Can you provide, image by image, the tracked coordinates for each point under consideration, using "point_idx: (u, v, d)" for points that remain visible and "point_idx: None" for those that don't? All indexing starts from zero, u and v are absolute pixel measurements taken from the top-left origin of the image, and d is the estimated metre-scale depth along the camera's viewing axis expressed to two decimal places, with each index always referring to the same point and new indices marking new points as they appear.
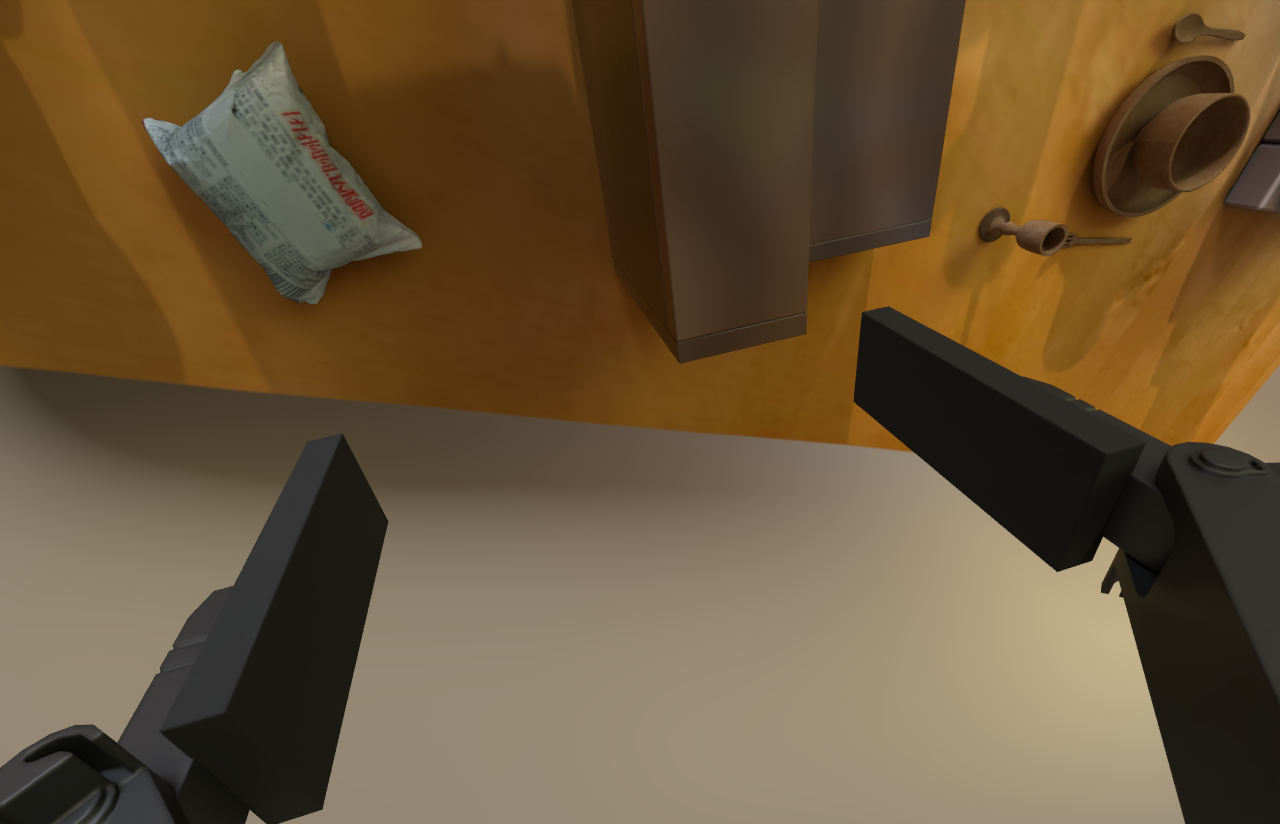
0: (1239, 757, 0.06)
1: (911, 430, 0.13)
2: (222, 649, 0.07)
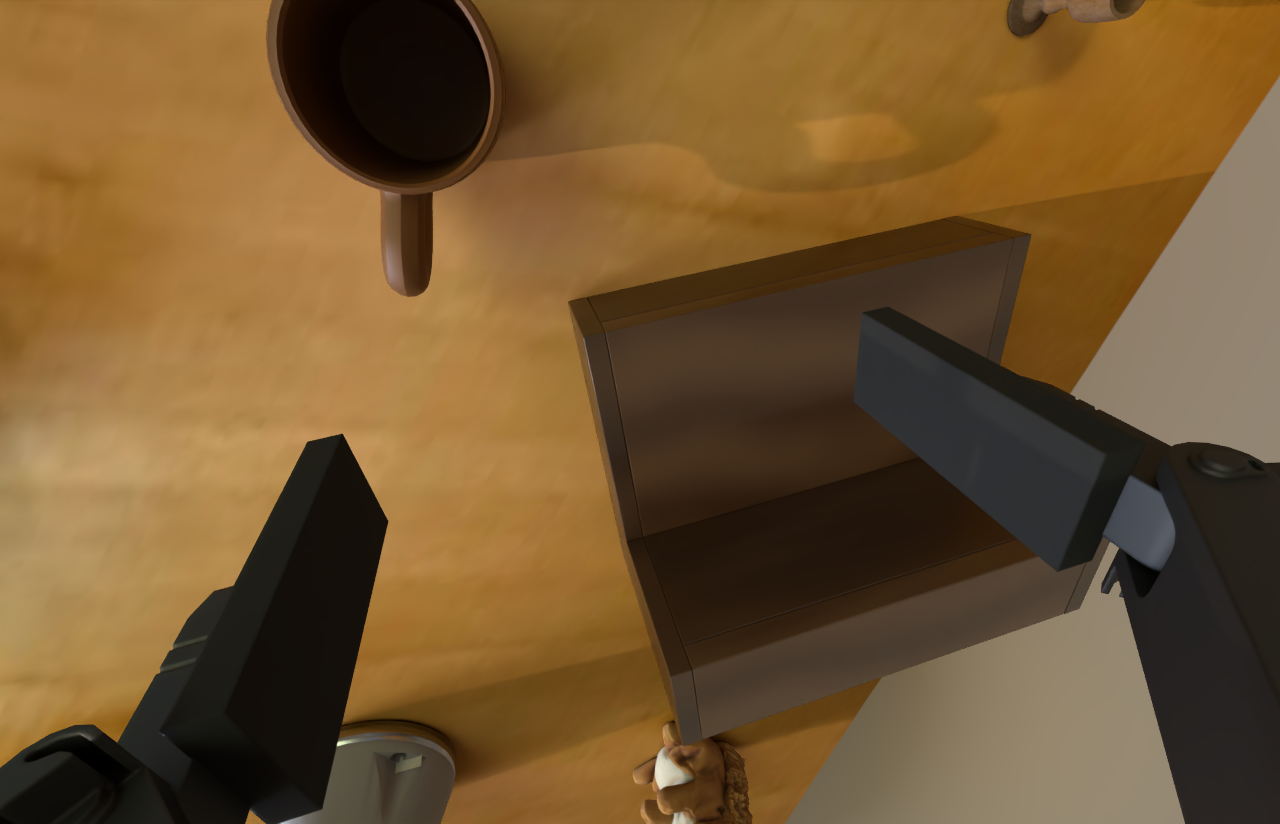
0: (1239, 756, 0.06)
1: (911, 430, 0.13)
2: (222, 649, 0.07)
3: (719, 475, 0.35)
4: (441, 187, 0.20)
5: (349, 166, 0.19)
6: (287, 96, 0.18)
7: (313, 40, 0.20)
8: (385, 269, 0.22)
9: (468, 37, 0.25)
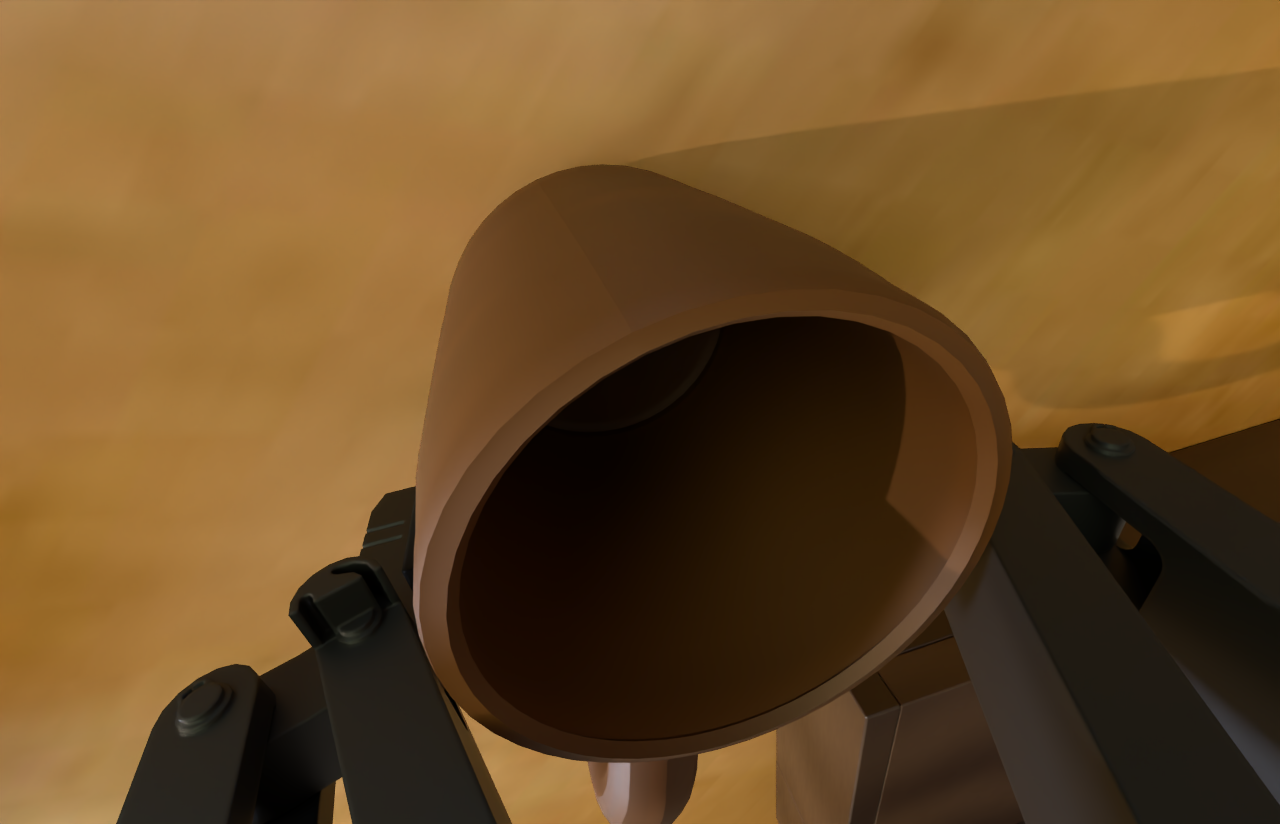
0: (1044, 732, 0.06)
1: None
2: None
3: (983, 810, 0.23)
4: (784, 724, 0.08)
5: (591, 744, 0.07)
6: (463, 681, 0.06)
7: None
8: (610, 818, 0.10)
9: None
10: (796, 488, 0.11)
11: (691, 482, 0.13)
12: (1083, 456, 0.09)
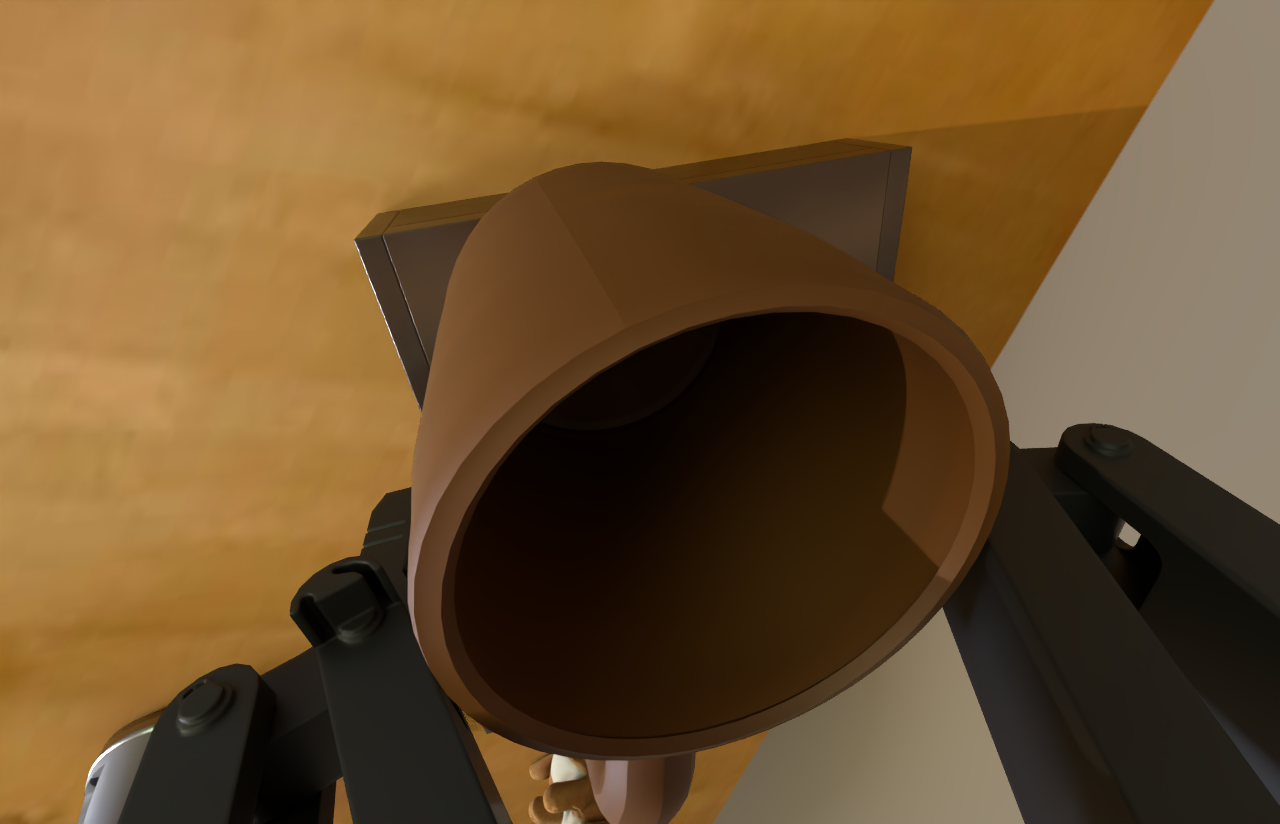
0: (1043, 732, 0.06)
1: None
2: None
3: None
4: (781, 723, 0.08)
5: (587, 742, 0.07)
6: (458, 678, 0.06)
7: None
8: (608, 816, 0.10)
9: None
10: (795, 487, 0.11)
11: (690, 480, 0.13)
12: (1082, 456, 0.09)
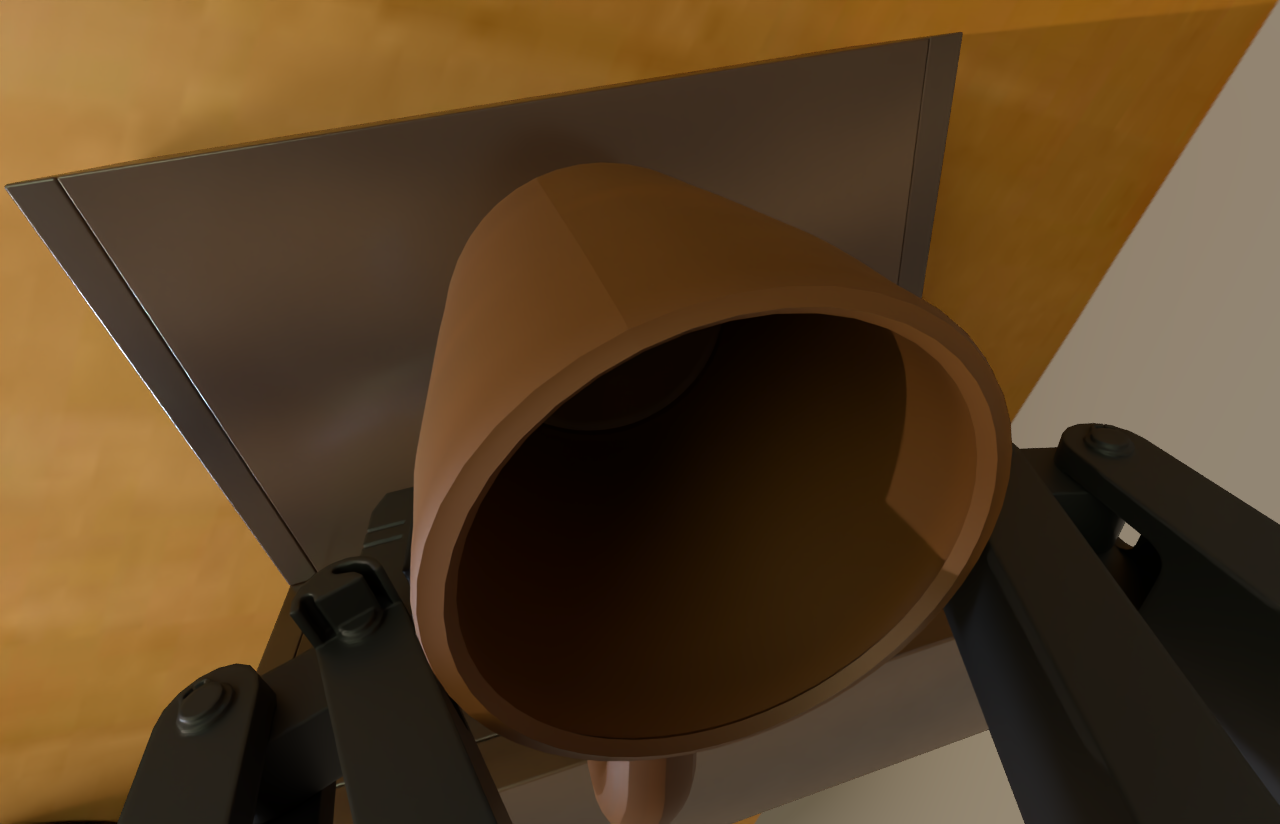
0: (1043, 733, 0.06)
1: None
2: None
3: None
4: (783, 723, 0.08)
5: (589, 742, 0.07)
6: (461, 679, 0.06)
7: None
8: (610, 816, 0.10)
9: None
10: (796, 488, 0.11)
11: (691, 481, 0.13)
12: (1082, 456, 0.09)
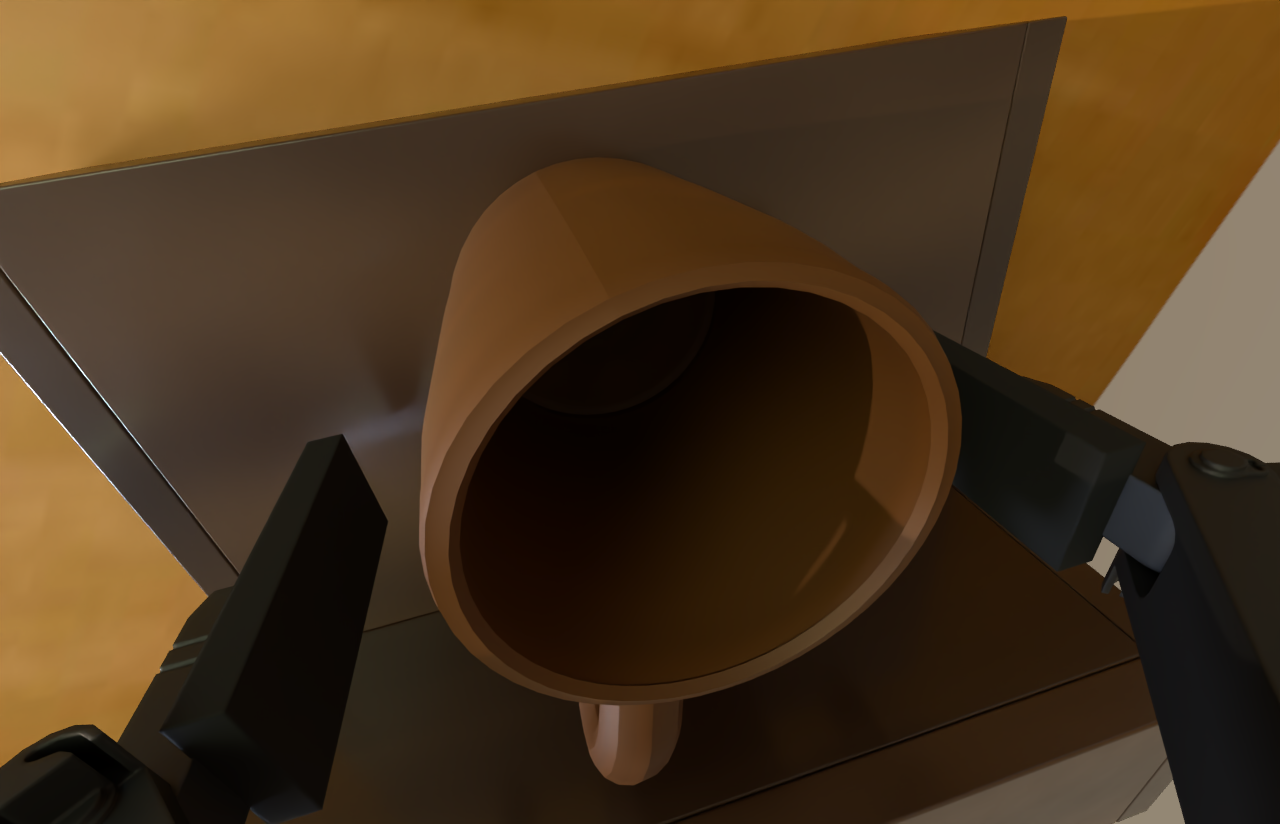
0: (1240, 756, 0.06)
1: None
2: (222, 649, 0.07)
3: None
4: (760, 674, 0.09)
5: (580, 686, 0.08)
6: (463, 617, 0.07)
7: None
8: (601, 767, 0.11)
9: None
10: (779, 464, 0.11)
11: (682, 460, 0.14)
12: None
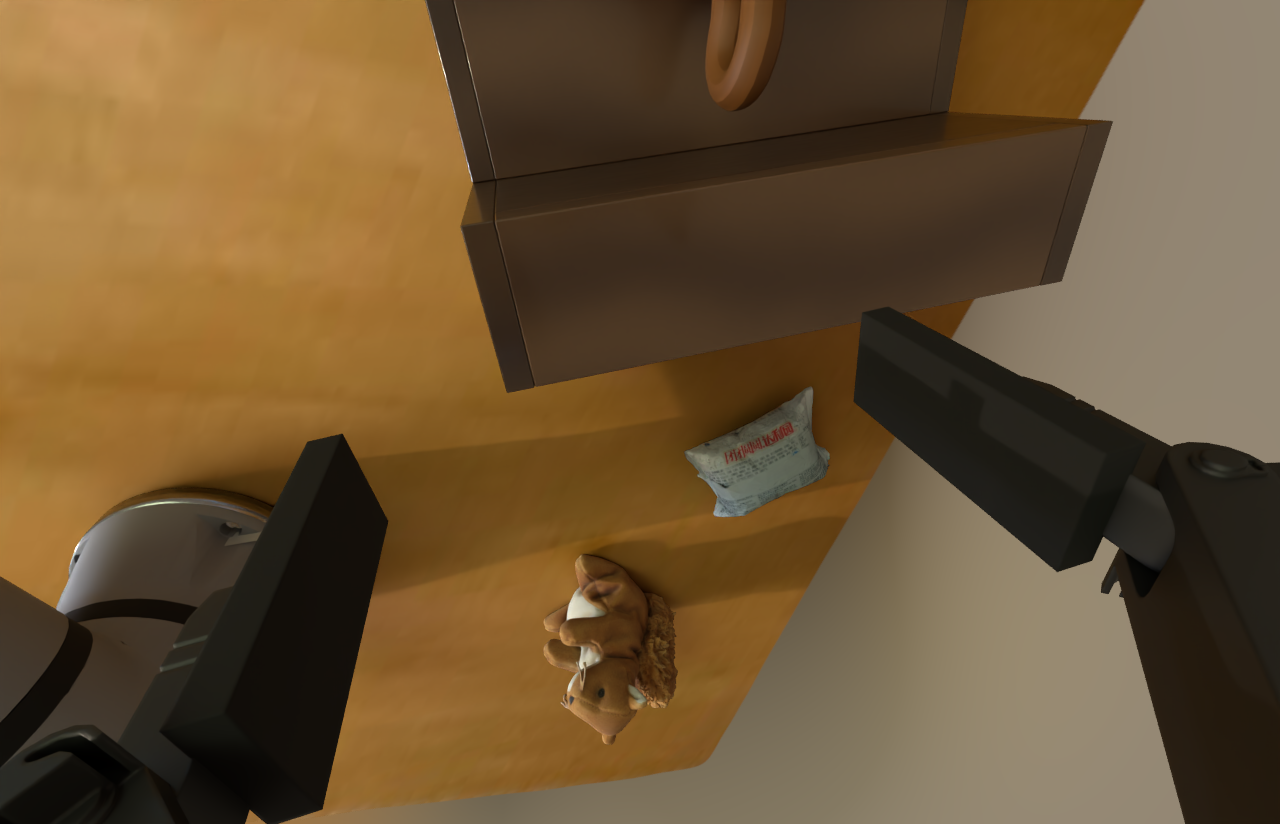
0: (1239, 756, 0.06)
1: (911, 430, 0.13)
2: (222, 649, 0.07)
3: (592, 88, 0.27)
4: None
5: None
6: None
7: None
8: (738, 63, 0.20)
9: None
10: None
11: None
12: None
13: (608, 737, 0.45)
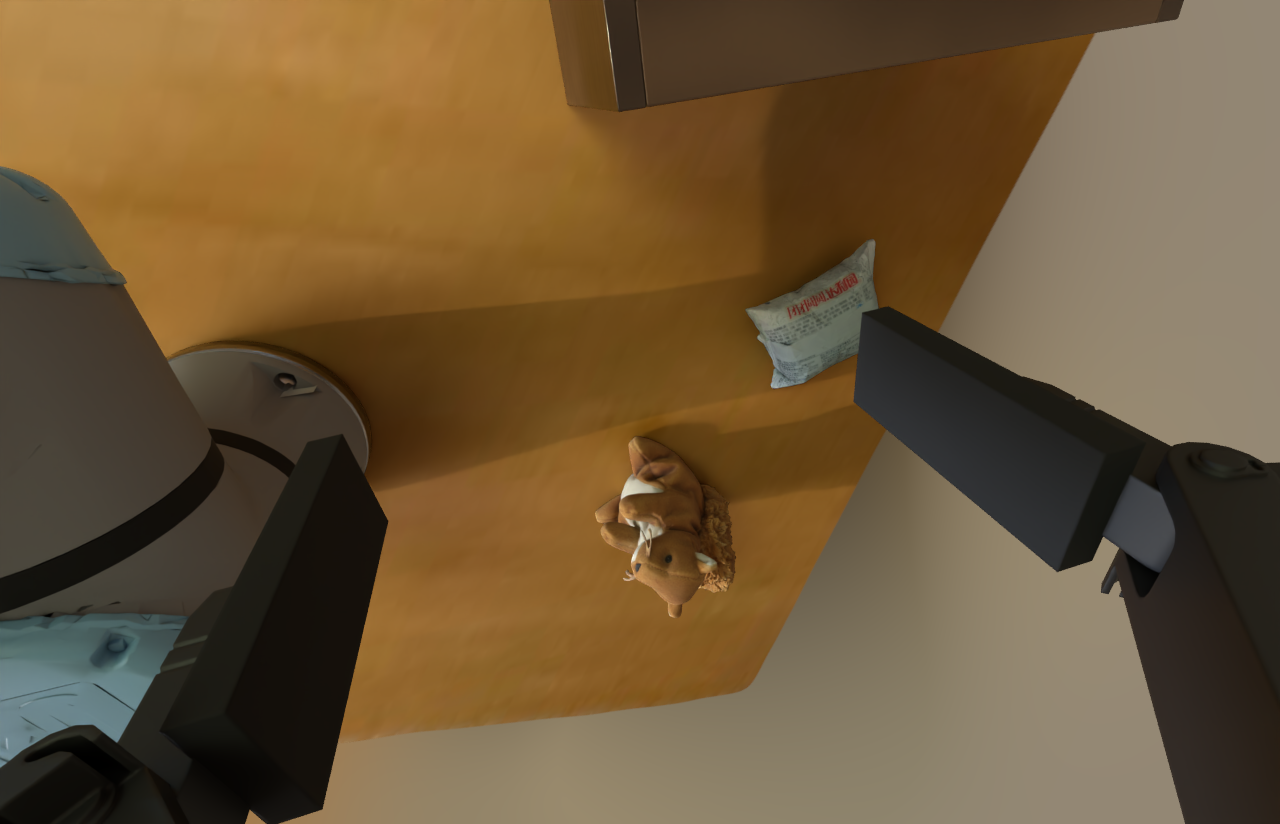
0: (1239, 756, 0.06)
1: (911, 430, 0.13)
2: (222, 649, 0.07)
3: None
4: None
5: None
6: None
7: None
8: None
9: None
10: None
11: None
12: None
13: (675, 609, 0.43)
